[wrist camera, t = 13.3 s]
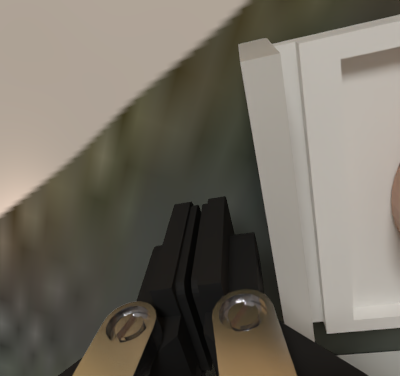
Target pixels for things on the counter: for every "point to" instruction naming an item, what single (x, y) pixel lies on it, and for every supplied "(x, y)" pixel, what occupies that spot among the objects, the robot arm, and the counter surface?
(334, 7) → the counter surface
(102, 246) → the counter surface
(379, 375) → the block
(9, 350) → the counter surface
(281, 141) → the tray
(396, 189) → the peach dome
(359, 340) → the counter surface
